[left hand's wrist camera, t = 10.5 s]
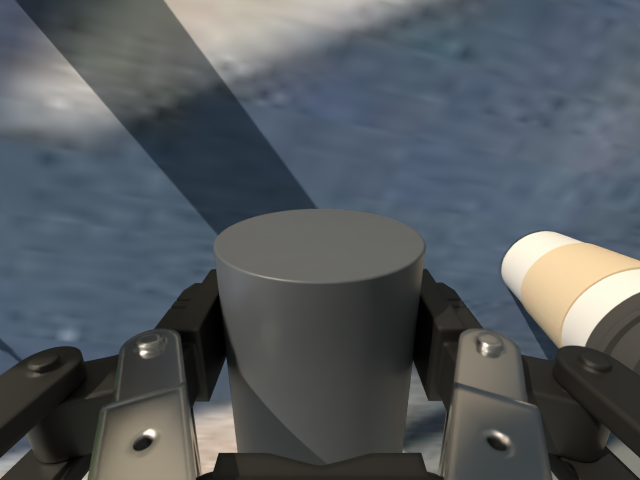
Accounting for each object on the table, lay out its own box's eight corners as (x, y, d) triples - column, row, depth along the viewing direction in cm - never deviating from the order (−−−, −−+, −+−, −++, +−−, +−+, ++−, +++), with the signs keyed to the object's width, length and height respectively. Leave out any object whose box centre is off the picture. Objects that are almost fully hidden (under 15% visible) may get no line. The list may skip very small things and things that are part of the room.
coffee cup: (587, 294, 34) (777, 422, 20) (494, 314, 35) (612, 451, 20) (587, 208, 31) (810, 286, 17) (485, 232, 32) (616, 326, 18)
